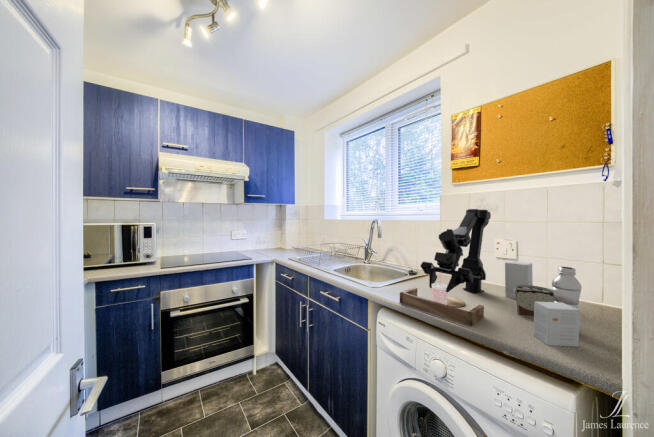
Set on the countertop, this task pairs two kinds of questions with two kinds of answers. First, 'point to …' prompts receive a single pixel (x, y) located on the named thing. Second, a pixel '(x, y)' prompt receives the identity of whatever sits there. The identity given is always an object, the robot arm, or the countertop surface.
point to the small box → (556, 323)
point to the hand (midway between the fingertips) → (438, 289)
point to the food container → (531, 298)
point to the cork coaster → (455, 302)
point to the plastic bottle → (567, 288)
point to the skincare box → (517, 276)
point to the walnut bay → (442, 308)
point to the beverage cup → (439, 292)
